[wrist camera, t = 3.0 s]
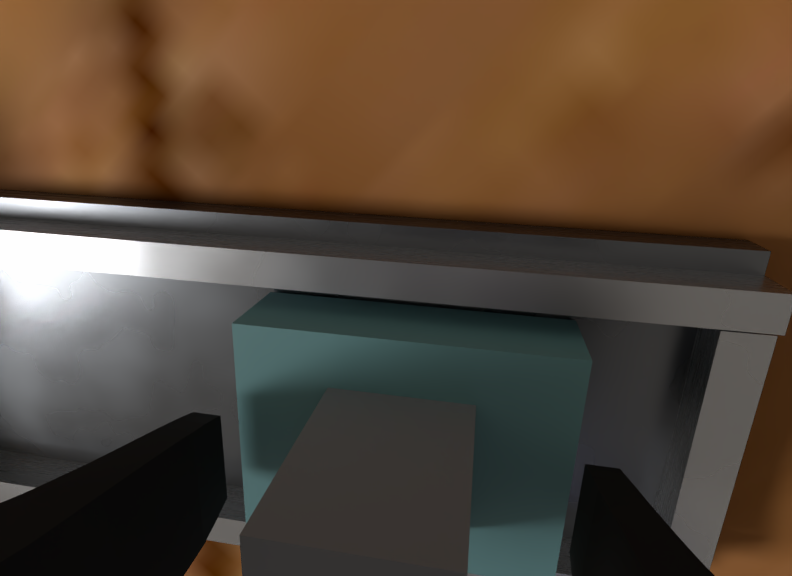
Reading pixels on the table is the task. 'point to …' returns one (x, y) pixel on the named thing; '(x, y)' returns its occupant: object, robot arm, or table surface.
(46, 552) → the robot arm
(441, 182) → the table surface
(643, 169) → the table surface
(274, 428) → the carriage
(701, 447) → the rail track
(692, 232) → the table surface
